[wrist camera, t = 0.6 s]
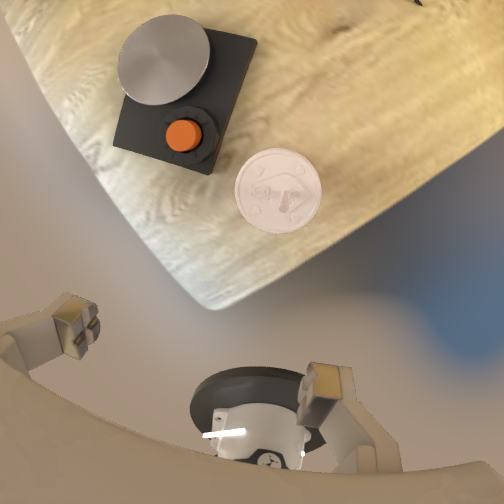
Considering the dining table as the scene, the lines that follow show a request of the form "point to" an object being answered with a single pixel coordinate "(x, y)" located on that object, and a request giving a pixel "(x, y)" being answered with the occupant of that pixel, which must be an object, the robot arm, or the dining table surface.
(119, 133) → the scale
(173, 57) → the scale pan
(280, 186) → the smoothie
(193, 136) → the tare button
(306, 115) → the dining table surface
